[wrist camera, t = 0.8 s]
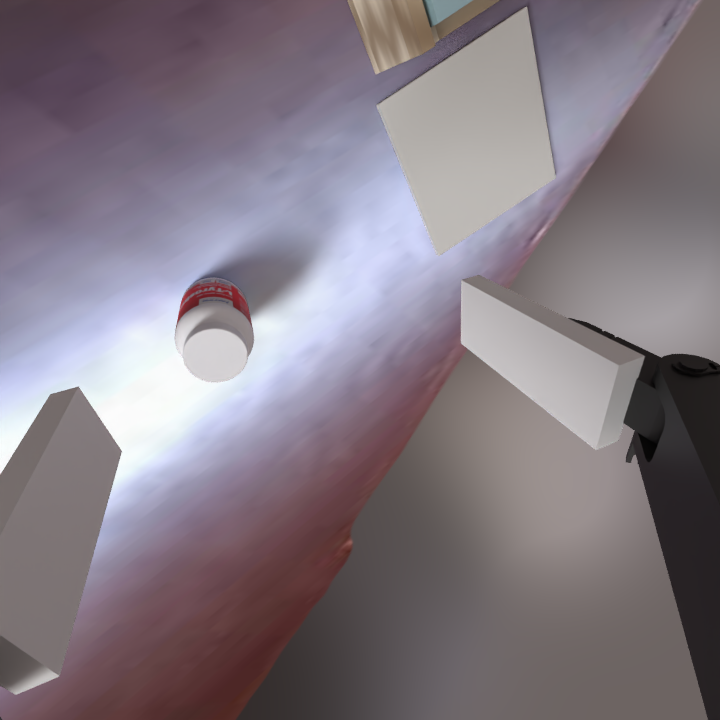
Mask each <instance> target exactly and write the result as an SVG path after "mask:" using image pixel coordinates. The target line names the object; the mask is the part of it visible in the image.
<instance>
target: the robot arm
mask: <svg viewBox="0 0 720 720" xmlns="http://www.w3.org/2000/svg"><path fill="white" fill-rule="evenodd" d="M461 344H463V345H464V346H465V347H466V348H468V349H469V350H470V351H471V352H473V353H474V354H475V355H477V356H478V357H479V358H480V359H482V360H483V361H484V362H485V363H487V364H488V365H489V366H490V367H492V368H493V369H494V370H495V371H497V372H498V373H499V374H500V375H502V376H503V377H504V378H506V379H507V380H508V381H509V382H511V383H512V384H513V385H514V386H516V387H517V388H518V389H519V390H521V391H522V392H523V393H524V394H526V395H527V396H528V397H530V398H531V399H532V400H533V401H535V402H536V403H537V404H538V405H540V406H541V407H542V408H543V409H545V410H546V411H547V412H549V413H550V414H551V415H552V416H554V417H555V418H556V419H557V420H559V421H560V422H561V423H562V424H564V425H565V426H566V427H567V428H569V429H570V430H571V431H572V432H574V433H575V434H576V435H578V436H579V437H580V438H581V439H583V440H584V441H585V442H586V443H588V444H589V445H590V446H591V447H593V448H594V449H595V450H598V449H600V448H602V447H605V446H607V445H609V444H612V443H614V442H616V441H618V440H619V437H620V434H621V431H622V427H623V424H626V425H628V426H629V427H630V428H632V429H633V430H635V432H634V435H633V438H632V441H631V444H630V447H629V449H628V452H627V456H626V462H628V463H631V460H632V457H633V455H635V454H636V457H637V460H638V464H639V467H640V471H641V475H642V479H643V482H644V486H645V490H646V493H647V497H648V501H649V504H650V508H651V512H652V515H653V519H654V522H655V526H656V530H657V534H658V537H659V541H660V544H661V548H662V552H663V556H664V559H665V563H666V567H667V570H668V574H669V577H670V581H671V585H672V588H673V592H674V596H675V600H676V603H677V607H678V611H679V614H680V618H681V621H682V625H683V629H684V632H685V636H686V640H687V644H688V648H689V651H690V655H691V659H692V662H693V666H694V670H695V673H696V677H697V680H698V684H699V688H700V692H701V695H702V699H703V703H704V706H705V710H706V714H707V717H708V720H720V365H719V364H717V363H715V362H713V361H711V360H709V359H706V358H702V357H699V356H695V355H688V354H671V355H667V356H664V357H662V358H661V357H659V356H657V355H654V354H653V353H650V352H648V351H646V350H644V349H642V348H640V347H638V346H636V345H634V344H631V343H629V342H627V341H625V340H623V339H621V338H619V337H616V338H615V336H614V335H613V334H610V333H608V332H606V331H602V329H600V328H598V327H596V326H594V325H591V324H589V323H587V322H583V321H579V320H575V319H571V318H566V317H564V316H562V315H559V314H558V313H556V312H554V311H552V310H549V309H547V308H546V307H544V306H541V305H539V304H537V303H535V302H533V301H531V300H529V299H527V298H525V297H523V296H521V295H519V294H517V293H515V292H513V291H511V290H509V289H507V288H505V287H503V286H501V285H499V284H497V283H494V282H492V281H490V280H488V279H486V278H484V277H482V276H480V275H477V276H474V277H470V278H467V279H463V280H461ZM121 452H122V451H121V449H120V448H119V446H118V445H117V443H116V442H115V440H114V439H113V437H112V436H111V434H110V433H109V431H108V430H107V429H106V427H105V426H104V424H103V423H102V421H101V420H100V418H99V417H98V415H97V414H96V412H95V411H94V409H93V408H92V406H91V405H90V403H89V402H88V400H87V399H86V397H85V396H84V394H83V393H82V391H81V390H80V388H79V387H75V388H72V389H68V390H65V391H61V392H57V393H54V394H50V396H49V397H48V399H47V401H46V402H45V404H44V405H43V407H42V409H41V410H40V412H39V414H38V415H37V417H36V418H35V420H34V422H33V423H32V425H31V426H30V428H29V430H28V431H27V433H26V434H25V436H24V438H23V439H22V441H21V442H20V444H19V446H18V447H17V449H16V451H15V452H14V454H13V455H12V457H11V459H10V460H9V462H8V463H7V465H6V467H5V468H4V470H3V471H2V473H1V475H0V686H2V687H3V688H5V689H7V690H9V691H10V692H12V693H14V694H15V695H16V694H19V693H21V692H23V691H26V690H28V689H31V688H33V687H35V686H38V685H40V684H42V683H45V682H47V681H50V680H52V679H54V678H57V677H59V676H60V673H61V669H62V666H63V662H64V659H65V655H66V651H67V648H68V644H69V641H70V637H71V633H72V630H73V626H74V622H75V619H76V615H77V612H78V608H79V604H80V601H81V597H82V593H83V590H84V586H85V583H86V579H87V575H88V572H89V568H90V564H91V561H92V557H93V554H94V550H95V546H96V543H97V539H98V536H99V532H100V528H101V525H102V521H103V517H104V514H105V510H106V507H107V503H108V499H109V496H110V492H111V488H112V485H113V481H114V478H115V474H116V470H117V467H118V463H119V459H120V456H121ZM0 720H2V719H1V717H0Z"/></svg>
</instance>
